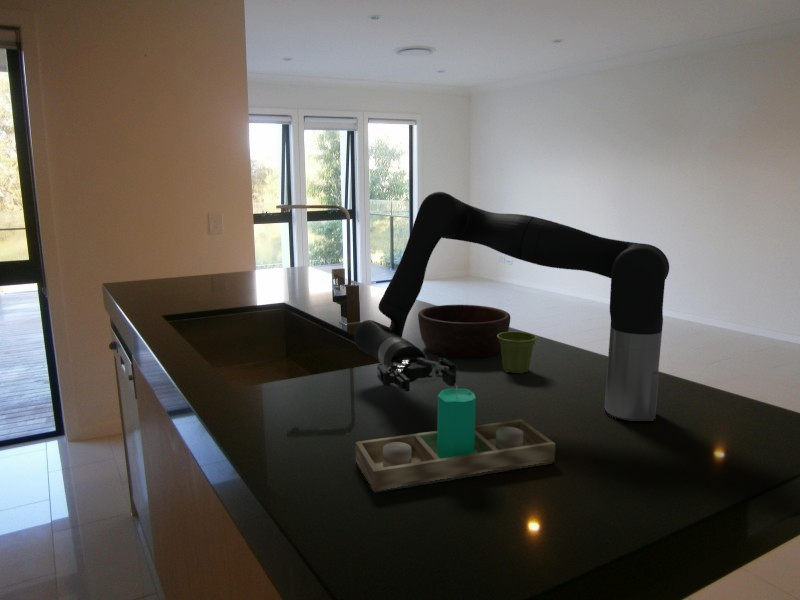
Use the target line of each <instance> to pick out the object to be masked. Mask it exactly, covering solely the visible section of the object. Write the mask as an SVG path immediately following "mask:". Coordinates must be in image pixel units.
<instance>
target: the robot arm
mask: <svg viewBox="0 0 800 600" xmlns="http://www.w3.org/2000/svg"><path fill="white" fill-rule="evenodd" d="M441 239H447V240H455V241H456V240H457V241H463V242H468V243H473V244H478V245H482V246H485V247H487V248H490V249H491V250H494V251H495V252H498V253H500V254H504V255H505V256H508V257H511V258H515V259H517V260H520V261H523V262H527V263H531V264H533V265H538V266H541V267H546V268H553V269H562V270H571V271H583V272H589V273H593V274H597V275H599V276H602V277H605V278H608V279H610V293H609V296H610V297H609V314H610V315H609V316H610V329H609V340H608V342H609V343H608V352H607V353H608V354H607V367H606V368H607V370H606V384H605V397H604V408H605V410H606V411H607V412H608V413H610V414H612V415H614V416H617V417H621V418H628V419H647V418H649V419H655V420H656V413H657V405H658V404H657V403H658V393H659V381H660V380H659V379H660V373H659V370H660V369H659V368H660V359H661V358H660V357H661V347H662V335H663V326H664V316H663V314H664V313H663V311H664V310H663V307H664V296H665V286H666V280H667V277H668V275H669V272H670V262H669V259H668V257H667V255H666V254H665V253H664V252H663V251H662V249H660V248H659V247H657V246H656V245H652V244H648V243H647V244H646V243H642V242H641V243H640V242H633V241H624V240H620V239H619V240H618V239H612V238H607V237H602V236H598V235H595V234H593V233H590V232H587V231H585V230H584V231H583V230H581V229H578V228H574V227H572V226H569V225H565V224H563V223H559V222H555V221H552V220H549V219H545V218H542V217H541V218H540V217H536V216H532V215H526V214H518V213H501V212H500V213H498V212H492V211H488V210H484V209H481V208H478V207H476V206H473V205H470V204H468V203H466V202H463V201H462V200H459V199H458V198H456V197H454V196H453V195H451V194H449V193H446V192H444V191H435V192H433V193H430V194H428V195H427V196H426V197H424V199H423V200H422V201H421V204H420V206H419V208H418V212H417V213H416V216H415V219H414V223H413V226H412V229H411V231H410V235H409V237H408V240H407V243H406V245H405V248H404V251H403V253H402V256H401V258H400V261H399V263H398V266H397V268H396V270H395V272H394V273H393V275H392V277H391V280H390V282H389V284H388V286H387V287H386V289H385V291H384V292H383V295H382V297H381V299H380V300H379V303H378V311H380V313H381V314H382V315H384V316H385V317H386V318H387V319H389V320H390V325H389V326H387V325H385V324H382V323H380V322H377V321H375V320H371V319H367V320H363V321H362V322H360V323H359V325H358V326H357V327H356V328H355V331H354V342H355V346H356V347H357V348H358V349H359V350H360V351H362V352H363V353H365V354H367V355H369V356H371V357H373V358H374V359H376V360H377V362H379V363H377V364H376V366H377V372H376V373H377V374H376V375H377V379H378V380H379V381H380V382H381V384H382V385H383V386H385V387H389V386H391V384H393V386H394V387H398V388H399V389H401V390H403V391H404V392H410V388H411V387H410V386H411V385H410V383H413V382H415V381H417V380H429V381H433V382H434V381H437V380H438V381H439V380H440V381H442V382H444V383H445V384H446V385H448V386H449V387H455V385H456V383H457V382H456V381H457V380H456V379H457V364H456V363H453V361H450V360H448V359H446V357H439V358H438V361H433V360H431V359H427V357H426V355H425V354H424V352H423V351H422V350H421V349H420V348H419V347H417V346H416V345H414V344H413V343H412V342H410V341H409V340H408V339H406V338H403V334H404V333H403V332H404V330H405V329H404V328H405V327H406V326H405V325H406V323H407V319H408V316H409V314H410V312H411V310H412V308H413V307H414V305H415V303H416V301H417V299H418V297H419V295H420V293H421V290H422V287H423V284H424V280H425V277H426V276H425V275H426V272H427V267H428V263H429V260H430V258H431V256H432V254H433V251H434V250H435V248H436V247H437V245H438V243H439V242H440V241H441ZM440 373H441V374H440Z"/></svg>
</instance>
